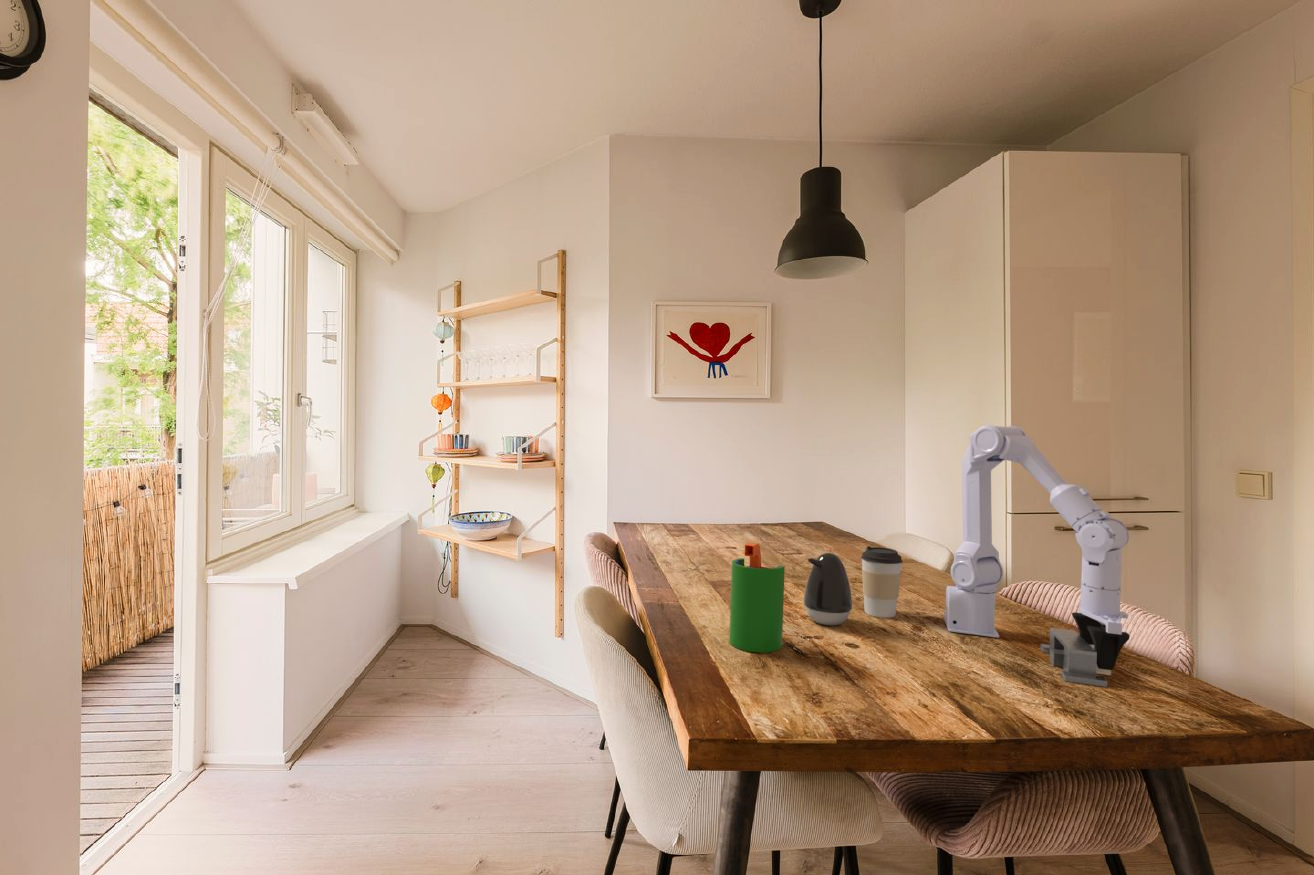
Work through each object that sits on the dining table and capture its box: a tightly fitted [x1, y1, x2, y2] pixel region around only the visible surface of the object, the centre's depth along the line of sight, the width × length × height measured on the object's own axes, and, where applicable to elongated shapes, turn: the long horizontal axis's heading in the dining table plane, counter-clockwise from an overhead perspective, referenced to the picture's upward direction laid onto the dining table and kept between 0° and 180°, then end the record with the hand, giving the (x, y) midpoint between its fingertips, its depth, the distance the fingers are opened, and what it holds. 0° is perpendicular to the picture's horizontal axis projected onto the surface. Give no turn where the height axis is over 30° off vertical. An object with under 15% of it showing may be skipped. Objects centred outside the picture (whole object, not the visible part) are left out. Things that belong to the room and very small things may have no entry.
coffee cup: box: [860, 545, 903, 619], centre depth 136 cm, size 9×9×15 cm
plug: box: [1048, 645, 1112, 676], centre depth 107 cm, size 8×4×4 cm, turn 72°
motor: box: [729, 542, 786, 654], centre depth 114 cm, size 10×9×20 cm
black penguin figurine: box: [803, 552, 853, 627], centre depth 129 cm, size 10×10×15 cm
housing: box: [1040, 627, 1108, 688], centre depth 107 cm, size 6×16×5 cm, turn 160°
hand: (1097, 661), depth 106 cm, fingers open, 7 cm apart
